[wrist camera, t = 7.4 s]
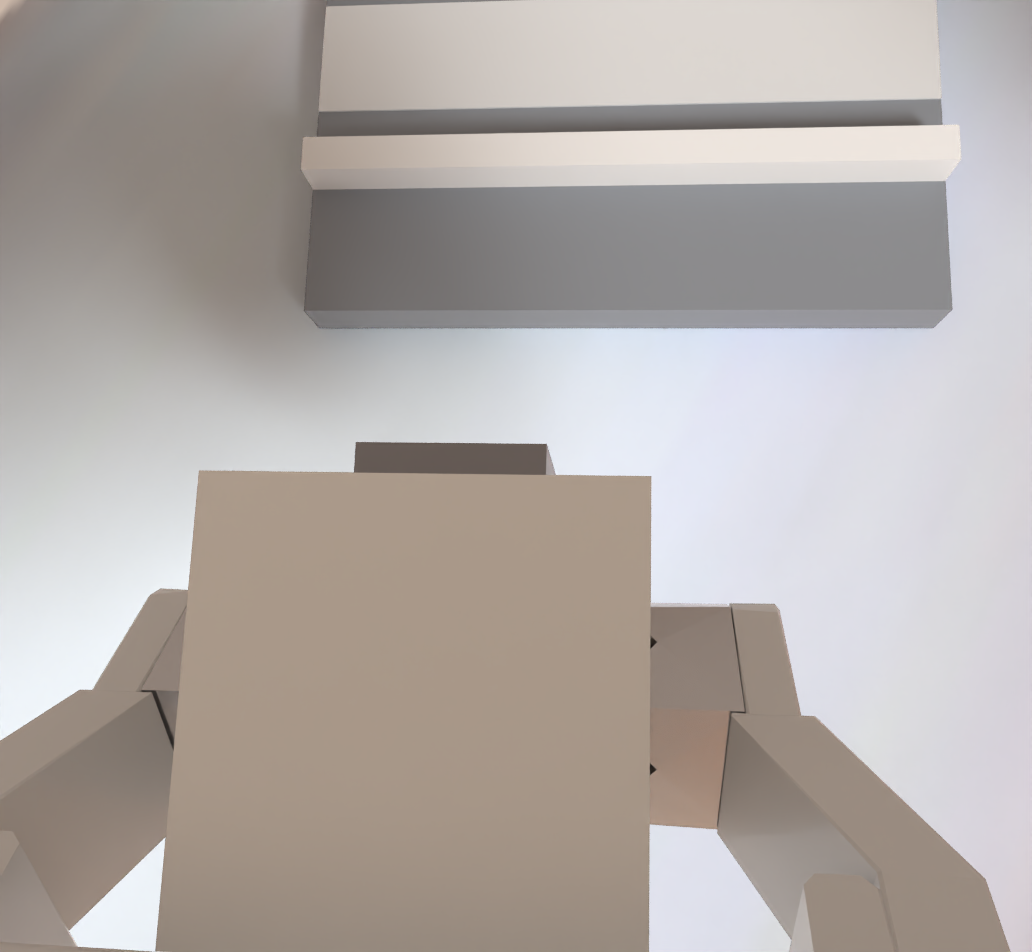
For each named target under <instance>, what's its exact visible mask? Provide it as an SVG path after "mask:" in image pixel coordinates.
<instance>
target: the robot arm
mask: <svg viewBox="0 0 1032 952" xmlns="http://www.w3.org/2000/svg"><path fill="white" fill-rule="evenodd" d="M187 597H188V590H178V589H159V590H157V591H156V592H154V593H153V594H151V595H150V596H149V597H148V599H147V600H146V602H145V604H144V605H143V607H142V609H141V610H140V612H139V613H138V615H137V617H136V618H135V620H134V622H133V623H132V625H131V627H130V628H129V630H128V632H127V633H126V635H125V637H124V638H123V640H122V642H121V643H120V645H119V646H118V648H117V650H116V651H115V653H114V655H113V656H112V658H111V660H110V661H109V663H108V665H107V666H106V668H105V670H104V671H103V673H102V675H101V676H100V678H99V679H98V681H97V683H96V684H95V686H94V688H93V689H92V690H79V691H77V692H75V693H74V694H72V695H71V696H69V697H68V698H66V699H65V700H63V701H61V702H60V703H58V704H57V705H55V706H54V707H52V708H51V709H49V710H47V711H46V712H44V713H43V714H41V715H40V716H38V717H37V718H35V719H33V720H32V721H30V722H29V723H27V724H26V725H24V726H23V727H21V728H19V729H18V730H16V731H15V732H13V733H12V734H10V735H9V736H7V737H5V738H4V739H2V740H1V741H0V952H150V951H135V950H119V949H103V948H88V947H78V946H77V945H76V943H75V941H74V939H73V937H72V936H71V934H70V932H69V930H70V929H71V928H72V927H73V926H74V925H75V924H76V923H77V922H78V921H79V920H80V919H81V918H82V917H83V916H85V915H86V914H87V913H88V912H89V911H90V910H91V909H92V908H93V907H94V906H95V905H96V904H97V903H98V902H99V901H100V900H101V899H102V898H103V897H104V896H105V895H106V894H107V893H108V892H109V891H110V890H111V889H112V888H113V887H114V886H115V885H116V884H117V883H119V882H120V881H121V880H122V879H123V878H124V877H125V876H126V875H127V874H128V873H129V872H130V871H131V870H132V869H133V868H134V867H135V866H136V865H137V864H138V863H139V862H140V861H141V860H142V859H143V858H144V857H145V856H146V855H147V854H148V853H149V852H150V851H151V850H152V849H154V848H155V847H156V846H157V845H158V844H159V843H160V842H161V841H162V840H163V839H164V838H165V837H166V828H167V817H168V806H169V795H170V784H171V773H172V762H173V751H174V740H175V729H176V718H177V707H178V696H179V685H180V674H181V663H182V652H183V641H184V630H185V619H186V608H187ZM649 824H653V825H666V826H680V827H693V828H706V829H718V831H717V833H718V835H719V836H720V838H721V839H722V841H723V842H724V844H725V845H726V846H727V848H728V849H729V851H730V852H731V854H732V855H733V857H734V858H735V859H736V861H737V862H738V864H739V865H740V867H741V868H742V869H743V871H744V872H745V874H746V875H747V877H748V878H749V880H750V881H751V882H752V884H753V885H754V887H755V888H756V890H757V891H758V893H759V894H760V895H761V897H762V898H763V900H764V901H765V903H766V904H767V905H768V907H769V908H770V910H771V911H772V913H773V914H774V916H775V917H776V918H777V920H778V921H779V923H780V924H781V926H782V927H783V929H784V930H785V931H786V933H787V934H788V936H789V937H790V939H791V940H792V941H791V945H790V950H789V952H1010V949H1009V946H1008V943H1007V940H1006V938H1005V935H1004V932H1003V929H1002V926H1001V923H1000V920H999V917H998V914H997V911H996V908H995V905H994V903H993V900H992V897H991V894H990V891H989V888H988V885H987V882H986V879H985V878H984V877H983V876H982V875H981V874H980V873H978V872H977V871H976V870H975V869H974V868H973V867H972V866H971V865H970V864H969V863H968V862H967V861H966V860H965V859H964V858H963V857H962V856H961V855H960V854H959V853H958V852H957V851H955V850H954V849H953V848H952V847H951V846H950V845H949V844H948V843H947V842H946V841H945V840H944V839H943V838H942V837H941V836H940V835H939V834H938V833H937V832H936V831H935V830H934V829H932V828H931V827H930V826H929V825H928V824H927V823H926V822H925V821H924V820H923V819H922V818H921V817H920V816H919V815H918V814H917V813H916V812H915V811H914V810H913V809H912V808H910V807H909V806H908V805H907V804H906V803H905V802H904V801H903V800H902V799H901V798H900V797H899V796H898V795H897V794H896V793H895V792H894V791H893V790H892V789H891V788H890V787H889V786H887V785H886V784H885V783H884V782H883V781H882V780H881V779H880V778H879V777H878V776H877V775H876V774H875V773H874V772H873V771H872V770H871V769H870V768H869V767H868V766H867V765H866V764H864V763H863V762H862V761H861V760H860V759H859V758H858V757H857V756H856V755H855V754H854V753H853V752H852V751H851V750H850V749H849V748H848V747H847V746H846V745H845V744H844V743H842V742H841V741H840V740H839V739H838V738H837V737H836V736H835V735H834V734H833V733H832V732H831V731H830V730H829V729H828V728H827V727H826V726H825V725H824V724H823V723H822V722H821V721H819V720H818V719H817V718H816V717H815V716H801V712H800V707H799V703H798V698H797V693H796V688H795V683H794V678H793V673H792V669H791V664H790V659H789V654H788V649H787V644H786V639H785V635H784V630H783V625H782V620H781V615H780V610H779V609H778V608H777V606H776V605H775V604H729V605H727V604H690V603H651V621H650V821H649Z"/></svg>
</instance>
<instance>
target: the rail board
mask: <svg viewBox="0 0 1032 952" xmlns="http://www.w3.org/2000/svg"><path fill="white" fill-rule="evenodd" d="M941 98H942V94H941V76H940V57H939V39H938V20H937V2H936V0H327V6H326V13H325V26H324V40H323V54H322V67H321V81H320V94H319V108H318V112H319V117H318V130H317V137H303V145H302V158H301V171H302V173H303V174H304V176H305V177H306V179H307V181H308V182H309V184H310V186H311V187H312V189H313V198H312V211H311V225H310V239H309V252H308V266H307V279H306V293H305V306H304V311H305V312H306V313H307V315H308V316H309V317H310V318H311V319H312V320H313V321H314V323H315V324H316V325H317V326H318V327H319V328H934V327H935V326H936V325H937V324H938V323H939V322H940V321H941V320H942V319H943V318H944V317H945V316H946V315H947V314H948V313H949V312H950V311H951V310H952V294H951V276H950V257H949V239H948V220H947V202H946V183H945V181H946V180H947V178H948V177H949V175H950V174H951V173H952V171H953V170H954V169H955V167H956V166H957V164H958V163H959V162H960V160H961V147H960V130H959V125H942V109H941Z"/></svg>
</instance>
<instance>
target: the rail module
mask: <svg viewBox="0 0 1032 952" xmlns="http://www.w3.org/2000/svg"><path fill="white" fill-rule="evenodd" d="M650 621H651V476H586V475H556V474H555V471H554V467H553V464H552V460H551V457H550V454H549V450H548V447H547V444H488V443H383V442H356V449H355V466H354V473H348V472H269V471H199V476H198V487H197V498H196V509H195V520H194V531H193V542H192V553H191V564H190V575H189V586H188V597H187V608H186V619H185V630H184V641H183V652H182V663H181V674H180V685H179V696H178V707H177V718H176V729H175V740H174V751H173V762H172V773H171V784H170V795H169V806H168V817H167V828H166V839H165V850H164V861H163V872H162V883H161V894H160V905H159V916H158V927H157V938H156V949H155V951H162V952H649V821H650Z"/></svg>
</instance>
